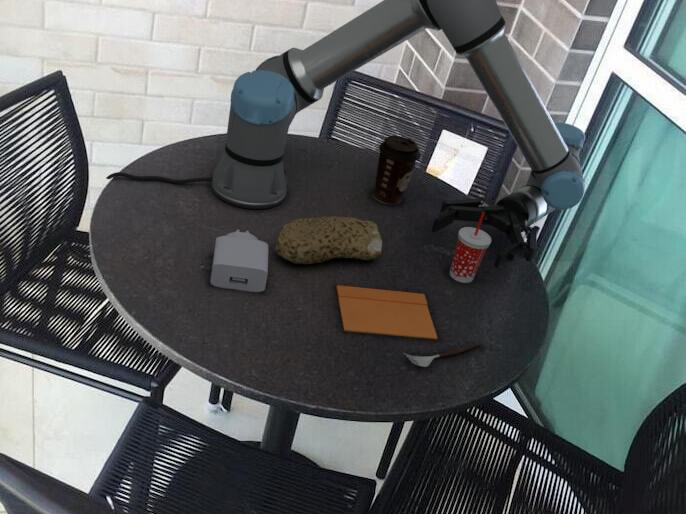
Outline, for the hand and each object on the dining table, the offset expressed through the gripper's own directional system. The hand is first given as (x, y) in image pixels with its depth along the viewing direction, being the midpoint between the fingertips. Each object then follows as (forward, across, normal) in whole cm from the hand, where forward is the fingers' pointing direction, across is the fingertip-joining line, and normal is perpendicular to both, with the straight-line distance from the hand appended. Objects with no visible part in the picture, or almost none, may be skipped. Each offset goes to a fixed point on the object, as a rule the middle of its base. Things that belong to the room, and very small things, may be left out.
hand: (465, 243), depth 146 cm
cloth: (+19, +2, -8) cm, 21 cm away
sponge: (+14, +20, -9) cm, 26 cm away
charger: (+30, +27, -9) cm, 41 cm away
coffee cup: (-15, +26, -9) cm, 31 cm away
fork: (+20, -11, -9) cm, 25 cm away
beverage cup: (-3, 0, -9) cm, 9 cm away
